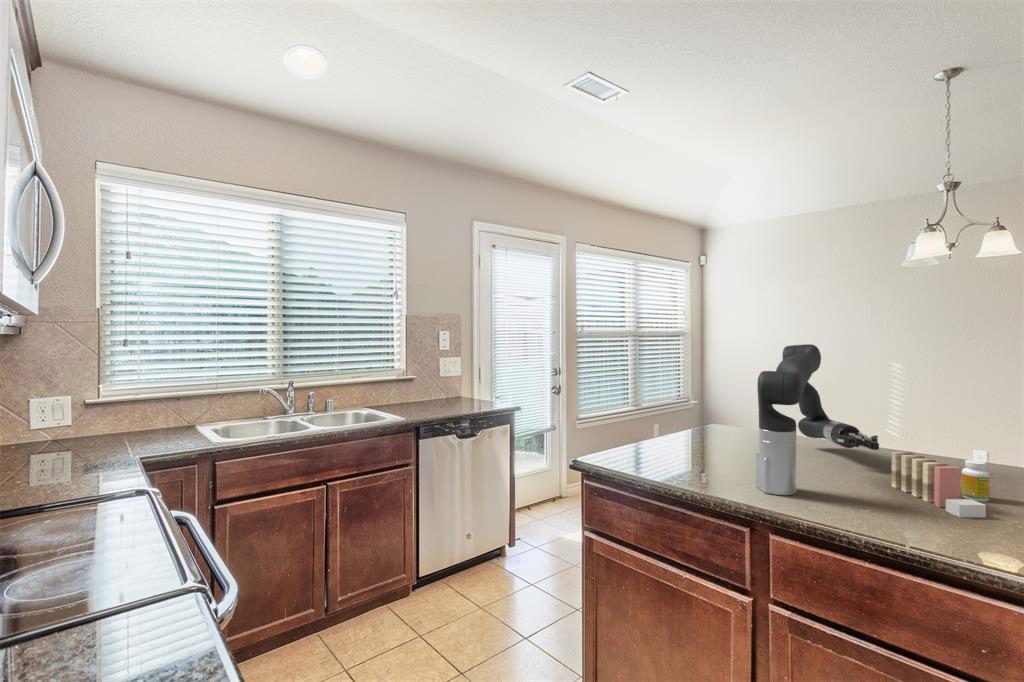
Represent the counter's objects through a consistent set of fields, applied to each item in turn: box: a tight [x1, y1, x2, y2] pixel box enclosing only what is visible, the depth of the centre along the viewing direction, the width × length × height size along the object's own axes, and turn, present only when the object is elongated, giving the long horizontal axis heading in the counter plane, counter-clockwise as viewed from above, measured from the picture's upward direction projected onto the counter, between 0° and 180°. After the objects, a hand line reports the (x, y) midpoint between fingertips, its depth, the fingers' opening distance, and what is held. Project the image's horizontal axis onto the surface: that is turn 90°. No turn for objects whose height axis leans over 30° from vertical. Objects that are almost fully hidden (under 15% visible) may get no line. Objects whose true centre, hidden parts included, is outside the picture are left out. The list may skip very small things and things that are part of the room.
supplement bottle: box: [960, 459, 990, 503], centre depth 132 cm, size 5×5×10 cm
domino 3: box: [911, 458, 937, 498], centre depth 134 cm, size 5×2×10 cm, turn 88°
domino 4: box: [922, 461, 949, 503], centre depth 130 cm, size 5×2×10 cm, turn 87°
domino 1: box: [890, 451, 915, 489], centre depth 141 cm, size 5×2×10 cm, turn 87°
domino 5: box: [933, 465, 961, 508], centre depth 126 cm, size 5×2×10 cm, turn 88°
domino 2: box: [900, 454, 926, 493], centre depth 138 cm, size 5×2×10 cm, turn 87°
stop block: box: [945, 498, 987, 519], centre depth 121 cm, size 6×4×3 cm, turn 88°
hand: (876, 446), depth 153 cm, fingers closed
